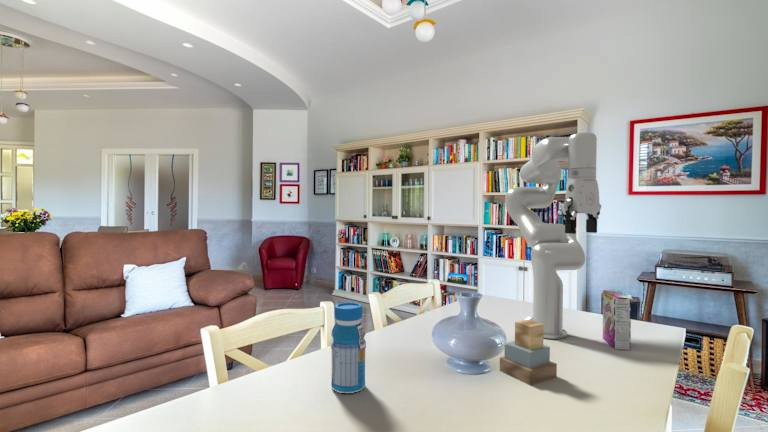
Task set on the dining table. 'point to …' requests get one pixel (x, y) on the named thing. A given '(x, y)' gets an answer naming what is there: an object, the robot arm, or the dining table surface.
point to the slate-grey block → (527, 355)
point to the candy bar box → (617, 319)
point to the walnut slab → (528, 371)
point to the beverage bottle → (348, 349)
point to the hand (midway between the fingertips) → (581, 232)
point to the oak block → (529, 334)
